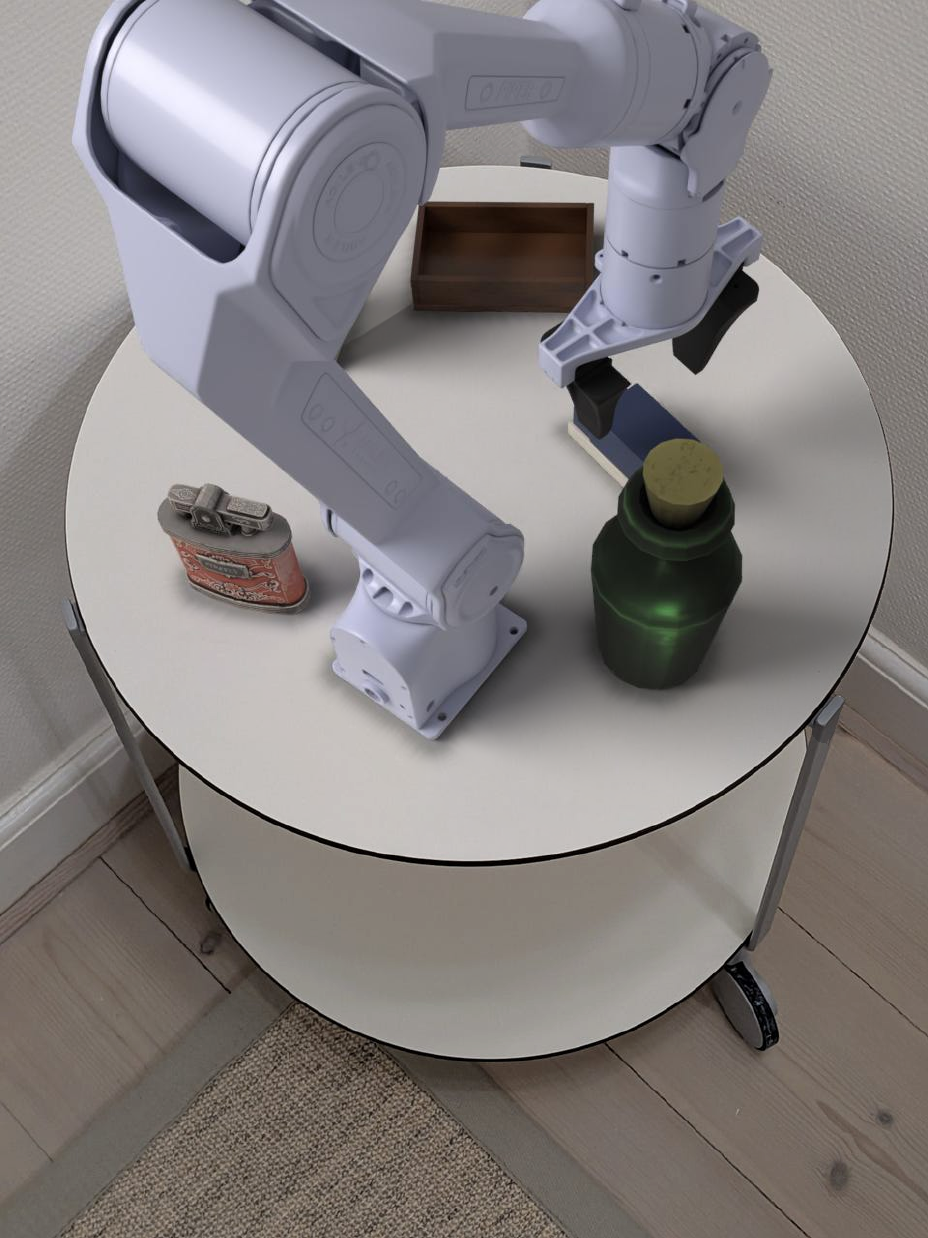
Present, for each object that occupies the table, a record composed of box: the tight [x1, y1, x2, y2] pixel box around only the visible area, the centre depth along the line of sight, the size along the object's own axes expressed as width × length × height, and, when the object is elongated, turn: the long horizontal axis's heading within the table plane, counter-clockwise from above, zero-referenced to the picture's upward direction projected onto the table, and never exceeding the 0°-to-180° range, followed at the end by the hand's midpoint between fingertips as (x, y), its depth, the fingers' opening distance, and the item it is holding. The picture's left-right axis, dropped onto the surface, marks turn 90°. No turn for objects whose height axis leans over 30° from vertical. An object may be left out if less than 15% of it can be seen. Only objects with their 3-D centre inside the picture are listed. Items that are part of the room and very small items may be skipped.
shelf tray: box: [409, 200, 595, 313], centre depth 88 cm, size 12×8×3 cm, turn 86°
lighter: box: [156, 482, 312, 615], centre depth 74 cm, size 8×3×10 cm, turn 73°
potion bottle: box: [590, 439, 743, 691], centre depth 67 cm, size 8×8×18 cm
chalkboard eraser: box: [567, 382, 702, 489], centre depth 79 cm, size 8×4×4 cm, turn 37°
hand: (641, 394), depth 75 cm, fingers open, 7 cm apart
